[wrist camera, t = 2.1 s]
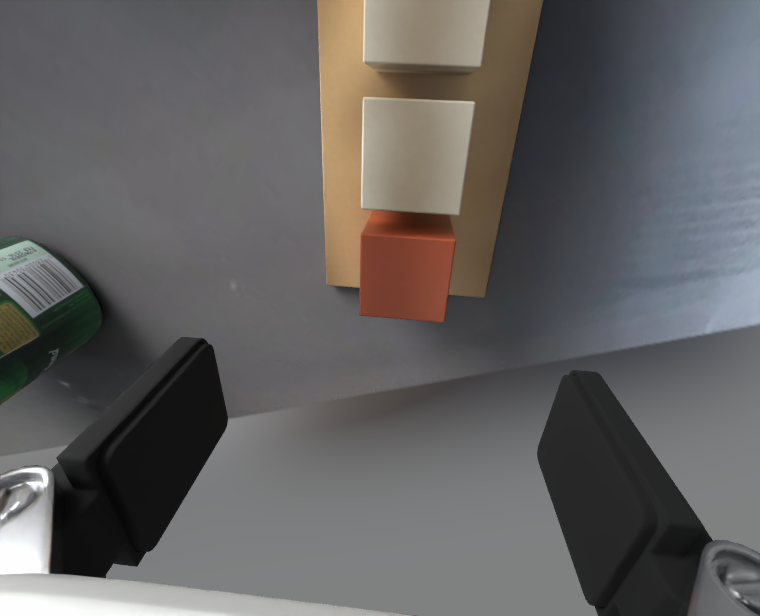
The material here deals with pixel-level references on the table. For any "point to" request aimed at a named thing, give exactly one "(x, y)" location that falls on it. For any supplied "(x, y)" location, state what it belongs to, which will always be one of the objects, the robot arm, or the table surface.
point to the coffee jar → (39, 312)
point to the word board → (421, 120)
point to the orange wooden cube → (406, 265)
